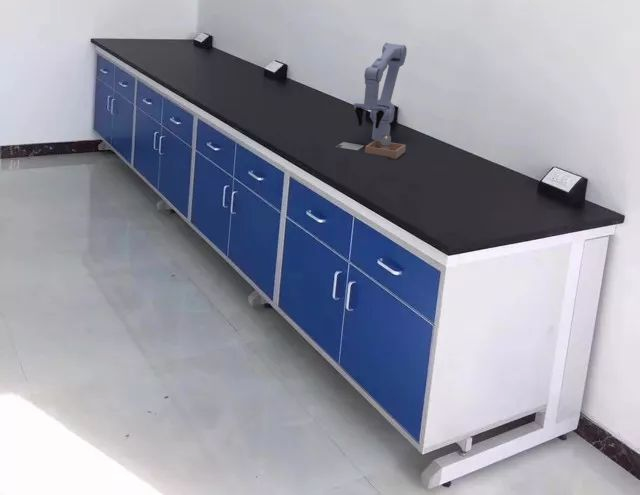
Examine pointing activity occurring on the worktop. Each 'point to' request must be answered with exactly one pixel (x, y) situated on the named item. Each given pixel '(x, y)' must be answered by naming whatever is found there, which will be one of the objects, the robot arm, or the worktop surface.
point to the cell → (385, 142)
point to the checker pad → (350, 146)
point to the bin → (385, 152)
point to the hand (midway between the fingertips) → (368, 126)
